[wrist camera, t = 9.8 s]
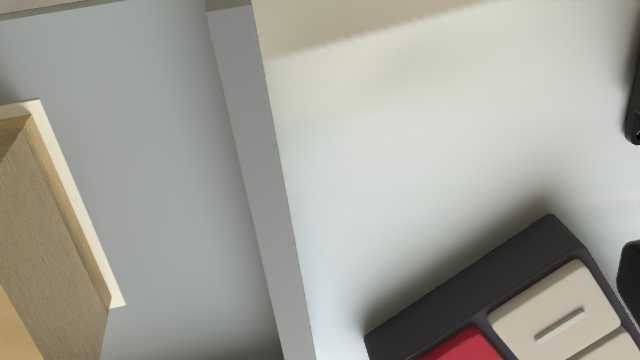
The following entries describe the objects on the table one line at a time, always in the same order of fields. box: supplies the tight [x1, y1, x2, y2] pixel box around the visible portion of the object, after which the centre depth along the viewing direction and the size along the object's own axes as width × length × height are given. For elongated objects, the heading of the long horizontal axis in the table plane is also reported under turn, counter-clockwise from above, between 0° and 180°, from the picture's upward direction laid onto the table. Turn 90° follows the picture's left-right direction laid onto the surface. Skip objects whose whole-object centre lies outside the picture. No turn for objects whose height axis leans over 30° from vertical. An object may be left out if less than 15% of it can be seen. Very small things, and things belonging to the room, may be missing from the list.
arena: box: [0, 0, 316, 360], centre depth 20 cm, size 16×18×4 cm
